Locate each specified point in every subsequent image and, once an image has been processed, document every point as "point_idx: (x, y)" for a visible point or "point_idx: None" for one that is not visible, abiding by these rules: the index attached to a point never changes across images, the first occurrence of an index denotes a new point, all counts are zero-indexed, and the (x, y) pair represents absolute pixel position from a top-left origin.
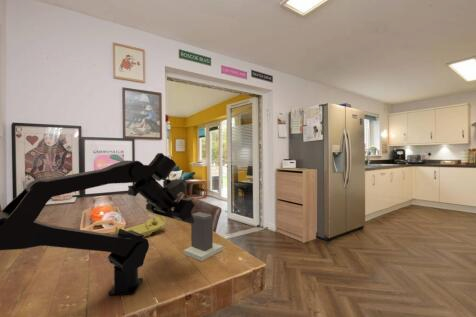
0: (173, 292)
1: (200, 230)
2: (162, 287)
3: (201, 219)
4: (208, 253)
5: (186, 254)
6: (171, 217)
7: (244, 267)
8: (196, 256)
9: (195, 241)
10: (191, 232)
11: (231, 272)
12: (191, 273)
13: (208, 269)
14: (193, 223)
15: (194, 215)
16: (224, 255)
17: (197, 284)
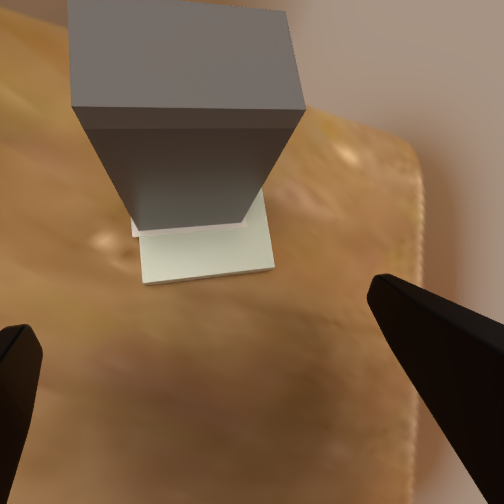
0: (387, 474)
1: (224, 180)
2: (336, 499)
3: (255, 127)
4: (267, 222)
5: (166, 282)
6: (23, 437)
7: (402, 194)
8: (242, 272)
9: (172, 216)
10: (124, 200)
11: (402, 245)
12: (322, 355)
13: (338, 289)
14: (136, 163)
15: (141, 110)
16: (291, 173)
17: (394, 378)
